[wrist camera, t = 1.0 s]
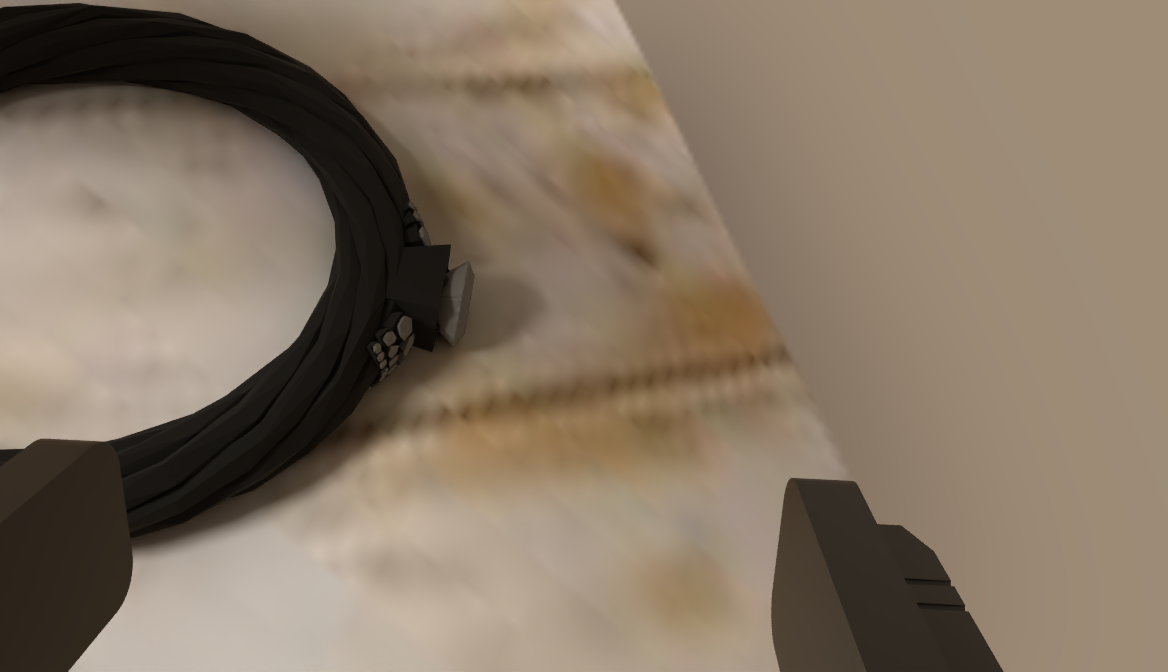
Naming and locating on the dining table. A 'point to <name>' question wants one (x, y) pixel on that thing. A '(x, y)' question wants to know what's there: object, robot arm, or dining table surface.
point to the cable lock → (359, 271)
